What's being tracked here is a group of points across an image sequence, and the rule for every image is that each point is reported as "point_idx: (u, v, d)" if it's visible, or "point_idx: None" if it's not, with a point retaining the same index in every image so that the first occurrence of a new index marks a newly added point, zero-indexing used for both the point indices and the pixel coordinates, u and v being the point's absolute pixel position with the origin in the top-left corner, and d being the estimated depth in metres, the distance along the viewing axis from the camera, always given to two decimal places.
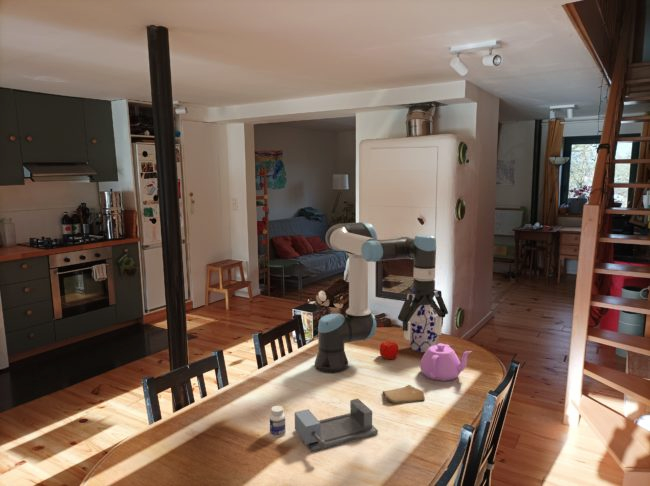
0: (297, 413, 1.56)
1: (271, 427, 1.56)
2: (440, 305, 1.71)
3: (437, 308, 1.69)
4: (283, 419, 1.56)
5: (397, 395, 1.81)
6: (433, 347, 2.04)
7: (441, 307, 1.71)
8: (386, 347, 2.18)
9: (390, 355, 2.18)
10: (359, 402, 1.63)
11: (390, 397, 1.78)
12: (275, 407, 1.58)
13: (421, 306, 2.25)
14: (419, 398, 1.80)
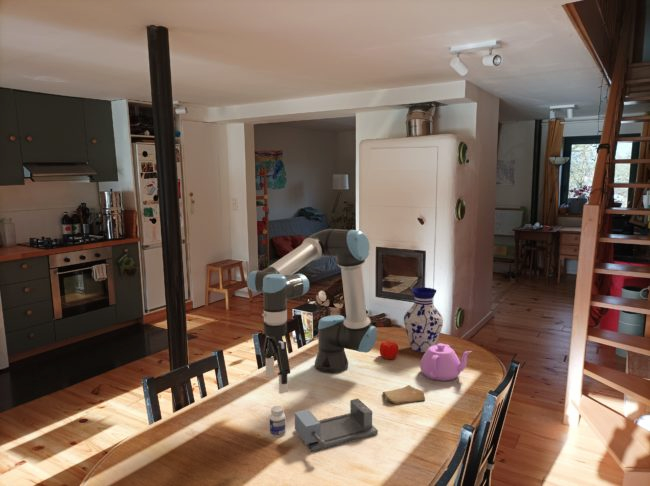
0: (297, 413, 1.56)
1: (271, 427, 1.56)
2: None
3: (277, 361, 1.49)
4: (283, 419, 1.56)
5: (397, 396, 1.80)
6: (433, 347, 2.04)
7: None
8: (386, 347, 2.18)
9: (390, 355, 2.18)
10: (359, 402, 1.63)
11: (391, 398, 1.78)
12: (275, 407, 1.58)
13: (421, 306, 2.26)
14: (419, 398, 1.80)
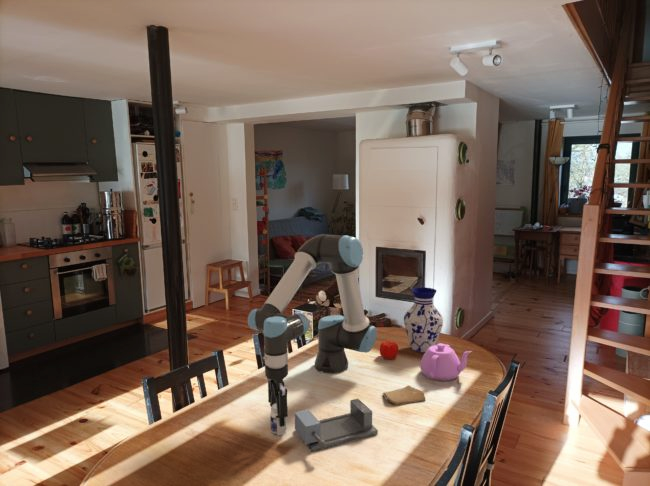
0: (297, 413, 1.56)
1: (272, 424, 1.56)
2: None
3: (276, 404, 1.54)
4: None
5: (398, 396, 1.80)
6: (433, 347, 2.04)
7: None
8: (386, 347, 2.18)
9: (390, 355, 2.18)
10: (359, 402, 1.63)
11: (391, 399, 1.77)
12: None
13: (421, 306, 2.25)
14: (420, 399, 1.80)
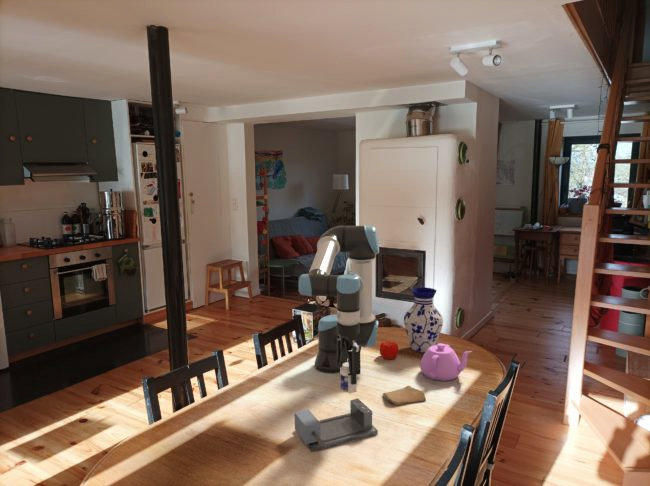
0: (297, 413, 1.56)
1: (342, 382, 1.56)
2: None
3: (348, 361, 1.53)
4: None
5: (398, 396, 1.80)
6: (433, 347, 2.04)
7: None
8: (386, 347, 2.18)
9: (390, 355, 2.18)
10: (359, 402, 1.63)
11: (392, 399, 1.77)
12: (346, 363, 1.58)
13: (421, 306, 2.26)
14: (420, 399, 1.79)
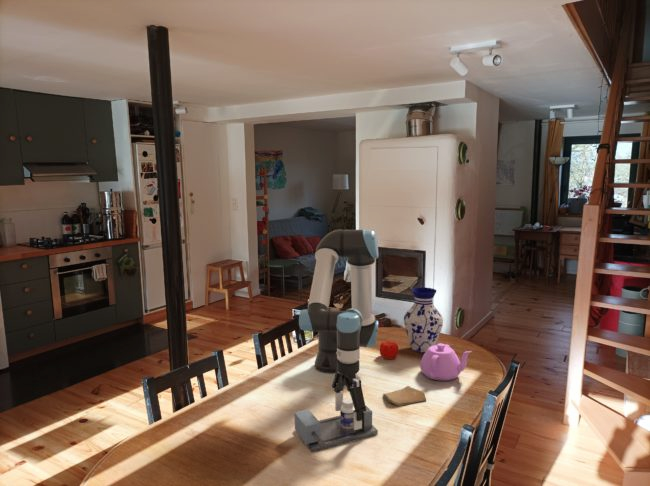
0: (297, 413, 1.56)
1: (342, 419, 1.58)
2: None
3: (352, 398, 1.53)
4: None
5: (399, 397, 1.79)
6: (433, 347, 2.04)
7: None
8: (386, 347, 2.18)
9: (390, 355, 2.18)
10: None
11: (393, 400, 1.76)
12: (346, 399, 1.59)
13: (421, 306, 2.25)
14: (421, 399, 1.79)
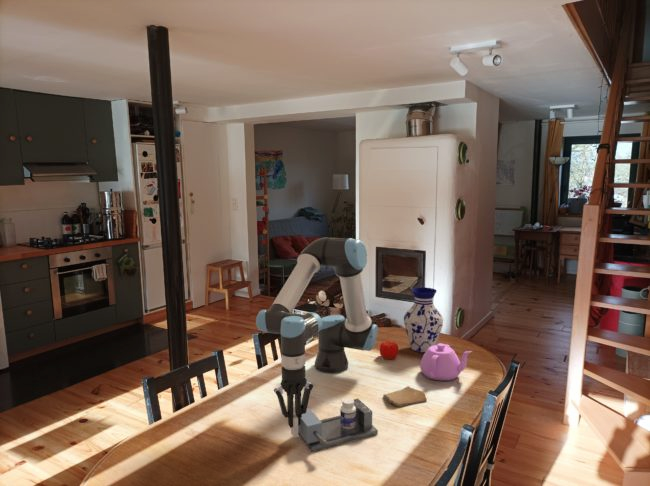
0: None
1: (342, 419, 1.58)
2: (303, 400, 1.52)
3: (299, 404, 1.50)
4: (354, 411, 1.58)
5: (400, 398, 1.79)
6: (433, 347, 2.04)
7: (303, 403, 1.52)
8: (386, 347, 2.18)
9: (390, 355, 2.18)
10: (359, 402, 1.63)
11: (394, 401, 1.75)
12: (346, 399, 1.59)
13: (421, 306, 2.26)
14: (421, 399, 1.79)
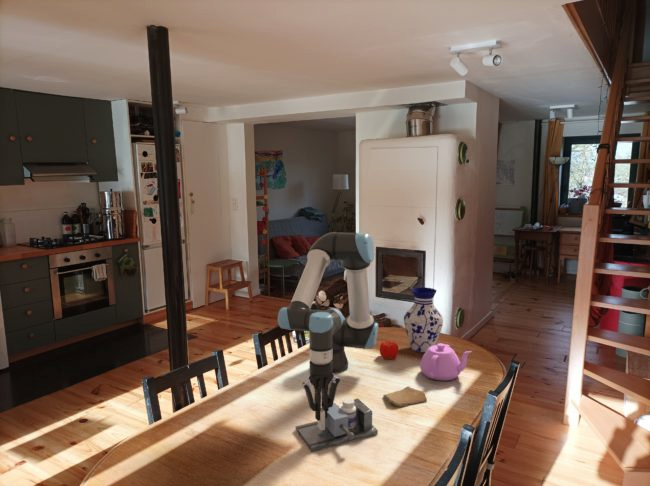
0: None
1: None
2: (330, 394, 1.56)
3: (326, 397, 1.54)
4: (354, 411, 1.58)
5: (400, 398, 1.78)
6: (433, 347, 2.04)
7: (329, 396, 1.55)
8: (386, 347, 2.18)
9: (390, 355, 2.18)
10: (359, 402, 1.63)
11: (394, 401, 1.75)
12: (346, 399, 1.60)
13: (421, 306, 2.25)
14: (421, 399, 1.79)
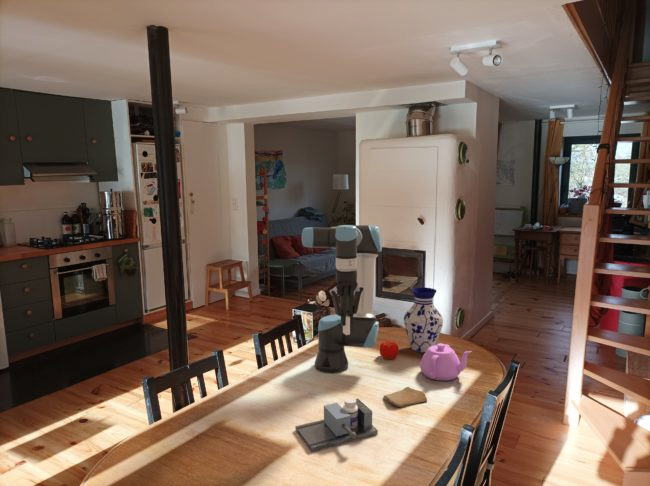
0: (326, 406, 1.60)
1: None
2: (354, 302, 1.69)
3: (351, 304, 1.67)
4: (356, 411, 1.58)
5: (400, 398, 1.78)
6: (433, 347, 2.04)
7: (354, 304, 1.69)
8: (386, 347, 2.18)
9: (390, 355, 2.18)
10: (359, 402, 1.63)
11: (394, 401, 1.75)
12: (348, 399, 1.60)
13: (421, 306, 2.25)
14: (422, 400, 1.79)
